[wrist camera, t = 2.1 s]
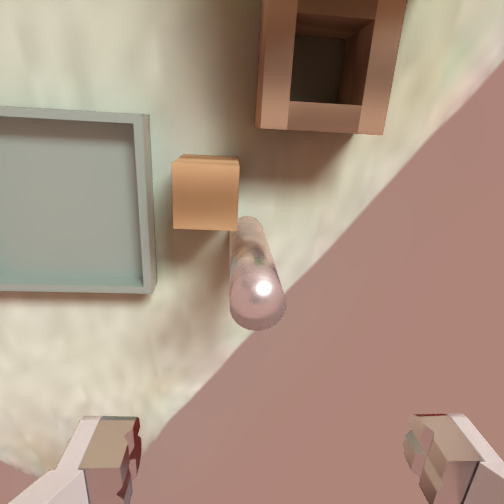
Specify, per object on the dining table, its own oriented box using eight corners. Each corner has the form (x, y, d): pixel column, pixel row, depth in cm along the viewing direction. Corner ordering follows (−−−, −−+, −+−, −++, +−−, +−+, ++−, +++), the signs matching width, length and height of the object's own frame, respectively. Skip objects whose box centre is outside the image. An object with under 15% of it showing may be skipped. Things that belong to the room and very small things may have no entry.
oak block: (183, 154, 26) (171, 163, 20) (237, 156, 26) (239, 166, 20) (184, 206, 27) (173, 228, 22) (235, 208, 27) (236, 230, 22)
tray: (-48, 103, 23) (-74, 101, 21) (149, 114, 25) (142, 114, 22) (-7, 278, 28) (-26, 290, 26) (157, 281, 29) (151, 293, 27)
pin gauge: (230, 215, 28) (231, 280, 16) (264, 216, 28) (288, 281, 17) (228, 248, 29) (229, 330, 17) (262, 249, 29) (283, 331, 18)
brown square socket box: (261, 4, 23) (269, -27, 18) (373, 13, 23) (409, -13, 19) (254, 126, 25) (260, 128, 21) (354, 132, 26) (382, 135, 21)
